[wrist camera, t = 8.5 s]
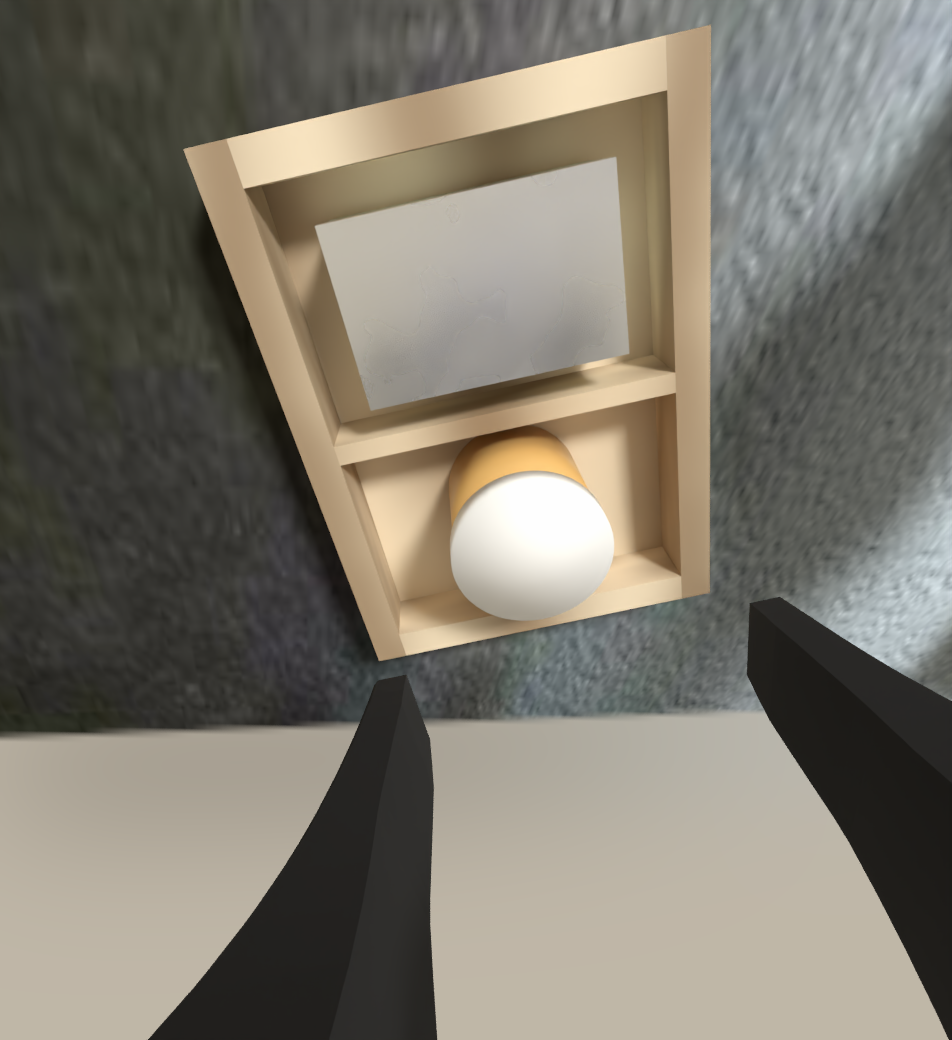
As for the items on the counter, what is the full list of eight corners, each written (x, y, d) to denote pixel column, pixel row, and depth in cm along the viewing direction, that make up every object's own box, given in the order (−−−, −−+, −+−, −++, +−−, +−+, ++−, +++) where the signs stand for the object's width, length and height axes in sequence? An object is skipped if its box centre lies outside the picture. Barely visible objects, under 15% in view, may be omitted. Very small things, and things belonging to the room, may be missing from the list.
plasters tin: (589, 157, 16) (616, 157, 14) (604, 331, 18) (629, 353, 16) (328, 218, 16) (314, 226, 14) (376, 381, 19) (370, 410, 16)
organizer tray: (670, 44, 15) (710, 24, 13) (683, 553, 24) (709, 592, 21) (215, 150, 16) (183, 148, 14) (382, 616, 24) (379, 661, 22)
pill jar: (574, 409, 20) (610, 469, 16) (584, 528, 22) (617, 606, 18) (433, 435, 20) (436, 501, 16) (458, 551, 22) (466, 632, 18)
